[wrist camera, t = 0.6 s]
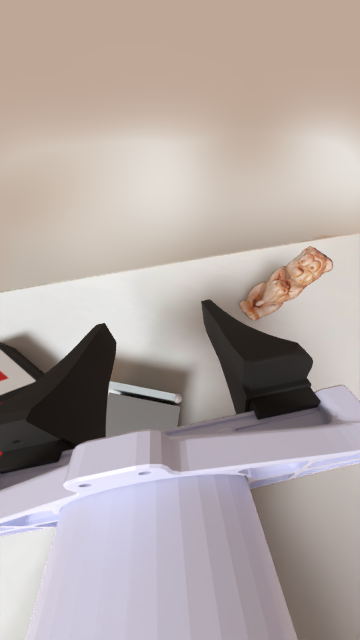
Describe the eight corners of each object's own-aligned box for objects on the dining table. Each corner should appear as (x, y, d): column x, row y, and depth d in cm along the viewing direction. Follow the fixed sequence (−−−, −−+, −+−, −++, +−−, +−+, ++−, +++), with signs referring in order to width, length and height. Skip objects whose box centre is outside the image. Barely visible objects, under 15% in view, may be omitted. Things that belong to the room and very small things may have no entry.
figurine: (229, 313, 34) (270, 252, 21) (253, 295, 37) (303, 230, 24) (253, 336, 32) (314, 285, 19) (277, 315, 35) (345, 257, 22)
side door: (178, 404, 26) (181, 403, 21) (85, 386, 26) (69, 381, 22) (179, 396, 26) (182, 394, 22) (89, 378, 26) (73, 372, 22)
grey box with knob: (164, 489, 21) (164, 512, 16) (93, 474, 22) (72, 493, 17) (177, 407, 26) (180, 406, 21) (118, 395, 26) (108, 392, 21)
